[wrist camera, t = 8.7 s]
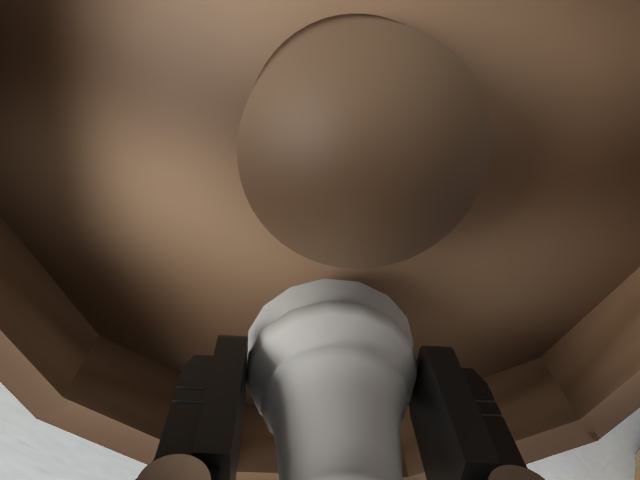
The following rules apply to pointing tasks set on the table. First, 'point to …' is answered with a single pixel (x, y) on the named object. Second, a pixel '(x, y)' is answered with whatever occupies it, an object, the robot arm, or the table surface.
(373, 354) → the rook chess piece
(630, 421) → the table surface
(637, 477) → the pastry
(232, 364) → the robot arm
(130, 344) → the ring tray
